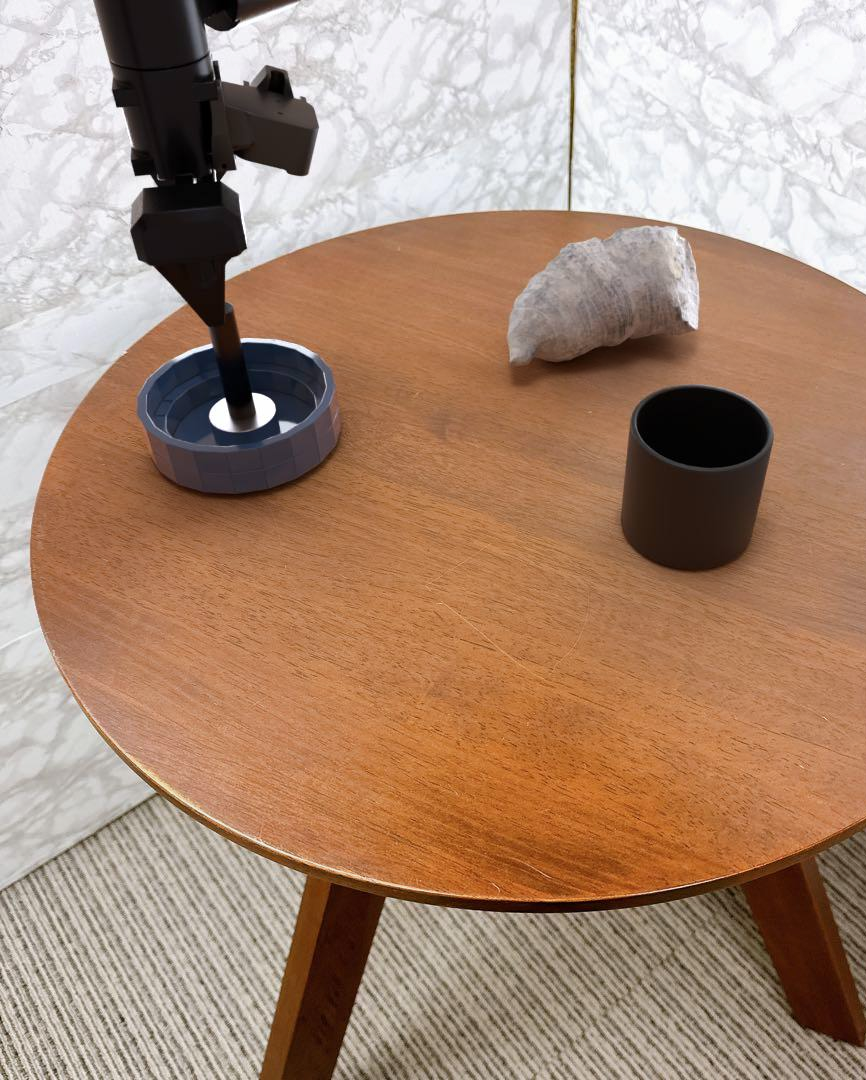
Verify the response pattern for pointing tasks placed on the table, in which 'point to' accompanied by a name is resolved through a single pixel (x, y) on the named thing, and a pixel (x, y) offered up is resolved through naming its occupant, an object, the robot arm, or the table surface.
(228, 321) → the paper towel holder
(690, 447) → the black cup
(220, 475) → the bowl
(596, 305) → the seashell
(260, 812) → the table surface
